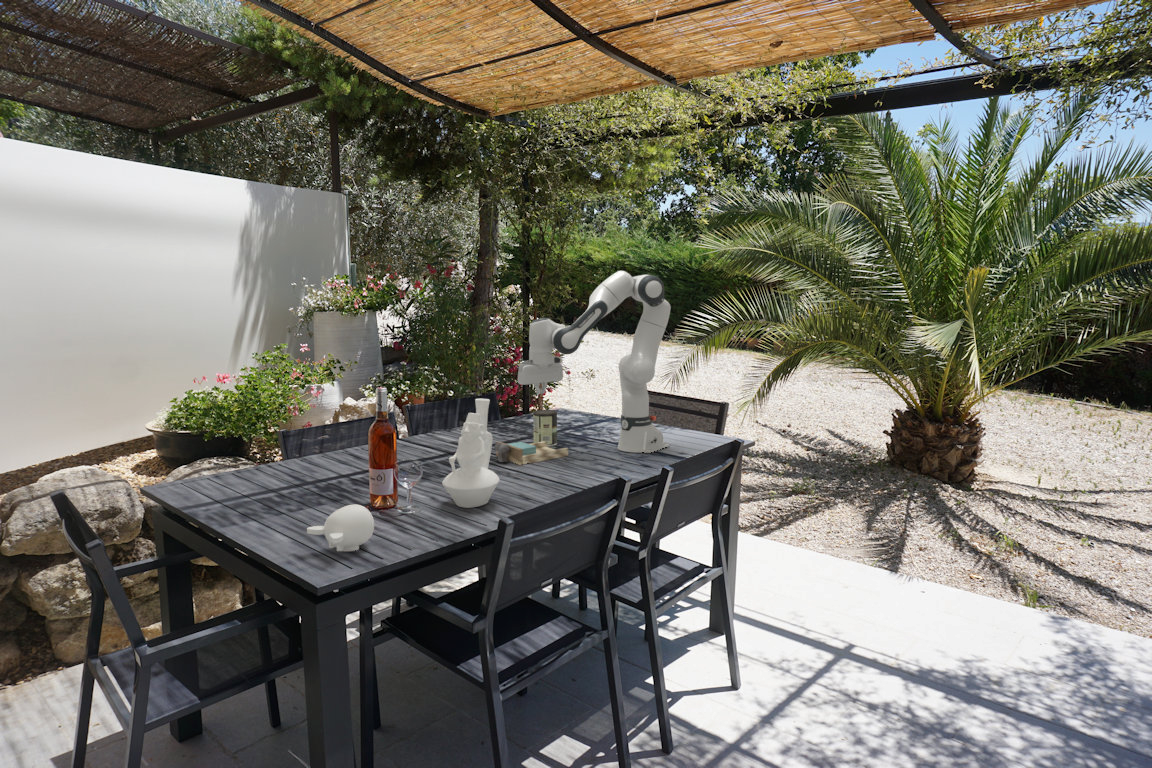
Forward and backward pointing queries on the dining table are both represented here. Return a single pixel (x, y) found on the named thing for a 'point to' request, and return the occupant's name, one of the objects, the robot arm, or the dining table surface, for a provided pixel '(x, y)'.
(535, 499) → the dining table surface
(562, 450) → the bay
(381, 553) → the dining table surface
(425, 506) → the dining table surface
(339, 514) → the piggy bank
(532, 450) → the teal rectangular box
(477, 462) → the white sculpted vase
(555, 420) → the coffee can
